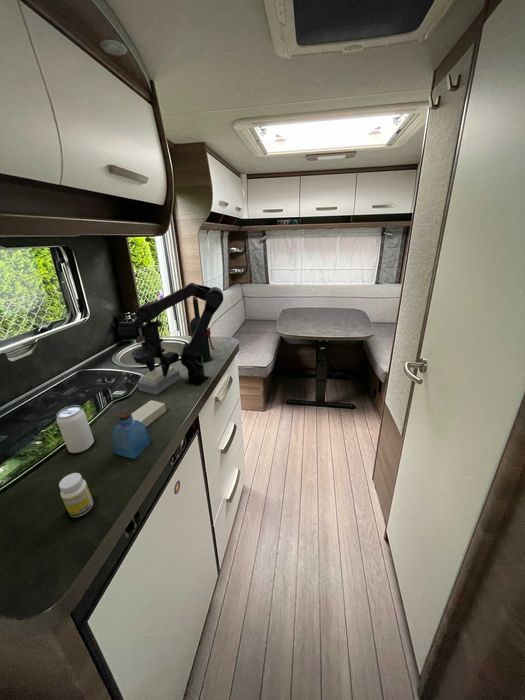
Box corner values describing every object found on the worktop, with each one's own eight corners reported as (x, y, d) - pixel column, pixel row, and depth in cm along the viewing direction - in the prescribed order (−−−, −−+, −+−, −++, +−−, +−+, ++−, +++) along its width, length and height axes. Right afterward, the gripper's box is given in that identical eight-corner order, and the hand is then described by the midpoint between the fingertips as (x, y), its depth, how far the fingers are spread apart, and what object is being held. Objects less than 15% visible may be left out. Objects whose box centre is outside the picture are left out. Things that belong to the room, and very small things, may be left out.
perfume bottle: (150, 443, 80) (141, 408, 75) (134, 459, 74) (124, 422, 70) (132, 439, 82) (123, 405, 77) (116, 454, 76) (105, 418, 71)
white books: (152, 407, 96) (151, 399, 95) (166, 411, 94) (164, 403, 93) (126, 426, 87) (124, 418, 86) (141, 430, 85) (139, 423, 84)
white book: (163, 368, 115) (162, 364, 115) (174, 371, 113) (173, 367, 112) (143, 381, 106) (141, 376, 106) (154, 384, 104) (153, 379, 103)
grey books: (164, 374, 119) (163, 366, 117) (181, 378, 115) (179, 370, 114) (138, 390, 107) (136, 382, 106) (156, 395, 104) (154, 386, 102)
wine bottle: (213, 363, 128) (206, 298, 116) (191, 362, 128) (182, 298, 117) (217, 356, 135) (211, 294, 123) (197, 355, 136) (188, 294, 124)
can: (82, 455, 76) (69, 419, 71) (62, 452, 77) (48, 417, 73) (99, 439, 82) (88, 405, 77) (80, 436, 83) (68, 403, 78)
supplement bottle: (76, 499, 63) (65, 471, 60) (97, 497, 64) (87, 470, 60) (64, 519, 59) (51, 490, 56) (87, 517, 59) (75, 488, 56)
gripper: (115, 342, 100) (125, 380, 106) (154, 349, 93) (162, 389, 99) (139, 332, 110) (147, 367, 116) (177, 338, 102) (183, 375, 108)
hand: (159, 375), depth 110 cm, fingers closed on white book, 6 cm apart
